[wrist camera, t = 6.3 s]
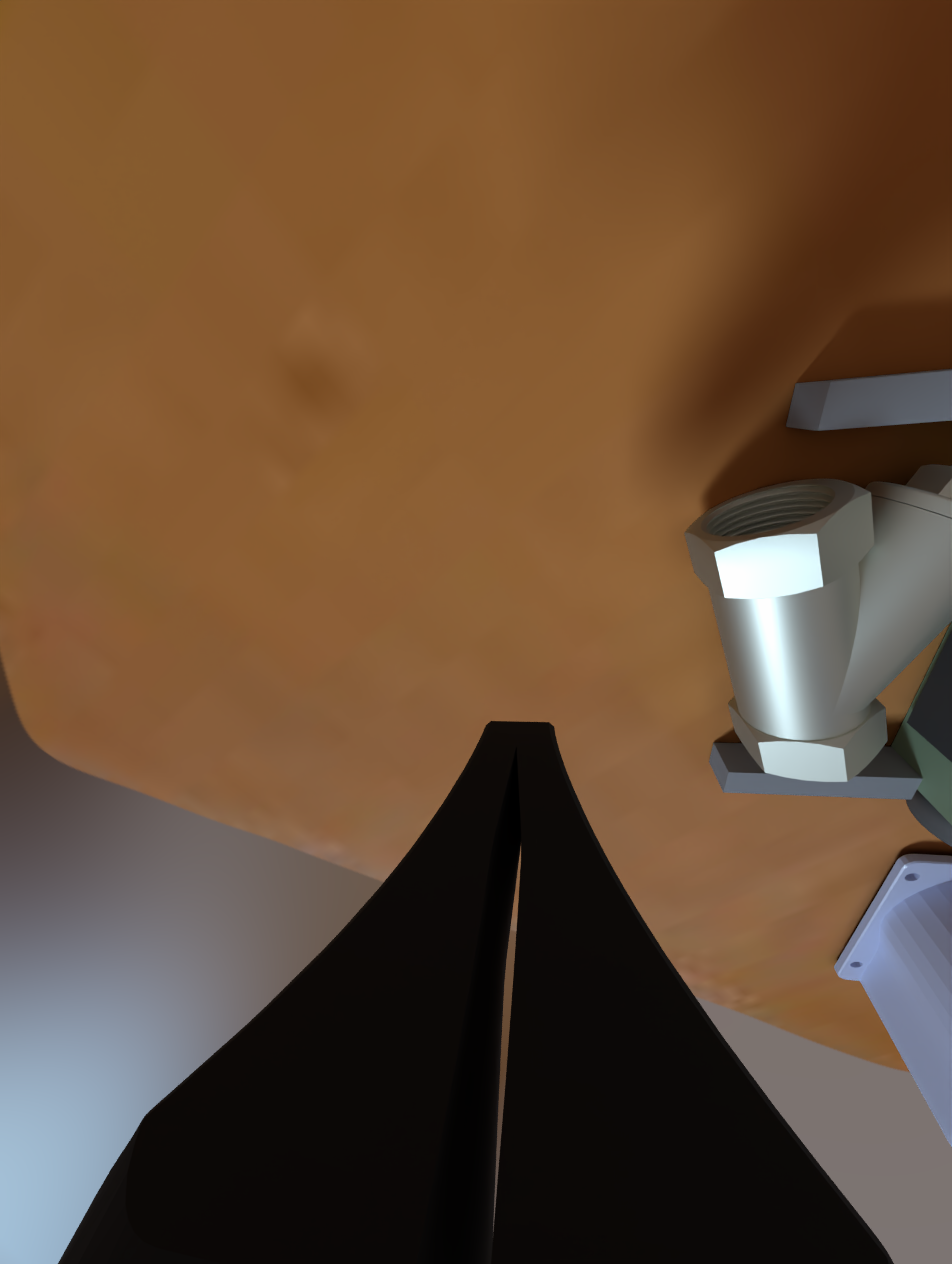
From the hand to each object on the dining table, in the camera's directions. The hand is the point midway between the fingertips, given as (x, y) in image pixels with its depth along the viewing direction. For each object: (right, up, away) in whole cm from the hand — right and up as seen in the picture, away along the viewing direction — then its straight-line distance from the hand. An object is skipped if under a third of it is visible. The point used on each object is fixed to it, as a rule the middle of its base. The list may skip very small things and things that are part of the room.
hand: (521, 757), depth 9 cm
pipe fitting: (+10, +4, +4) cm, 11 cm away
